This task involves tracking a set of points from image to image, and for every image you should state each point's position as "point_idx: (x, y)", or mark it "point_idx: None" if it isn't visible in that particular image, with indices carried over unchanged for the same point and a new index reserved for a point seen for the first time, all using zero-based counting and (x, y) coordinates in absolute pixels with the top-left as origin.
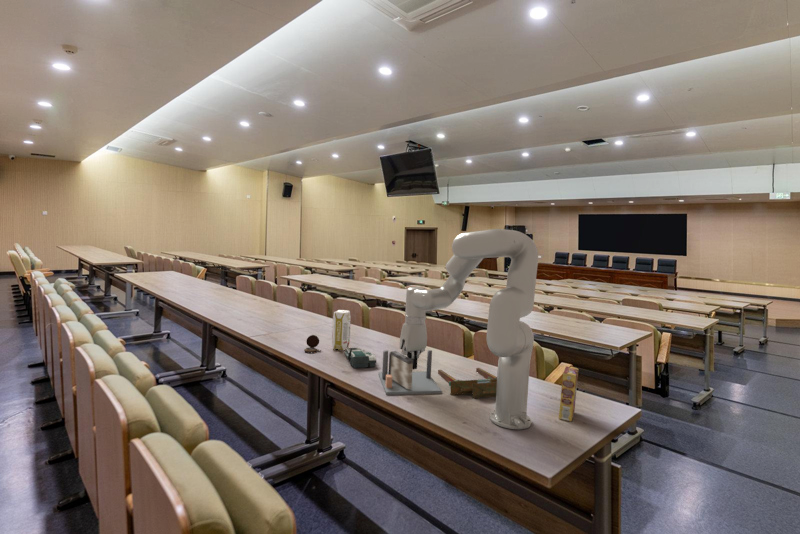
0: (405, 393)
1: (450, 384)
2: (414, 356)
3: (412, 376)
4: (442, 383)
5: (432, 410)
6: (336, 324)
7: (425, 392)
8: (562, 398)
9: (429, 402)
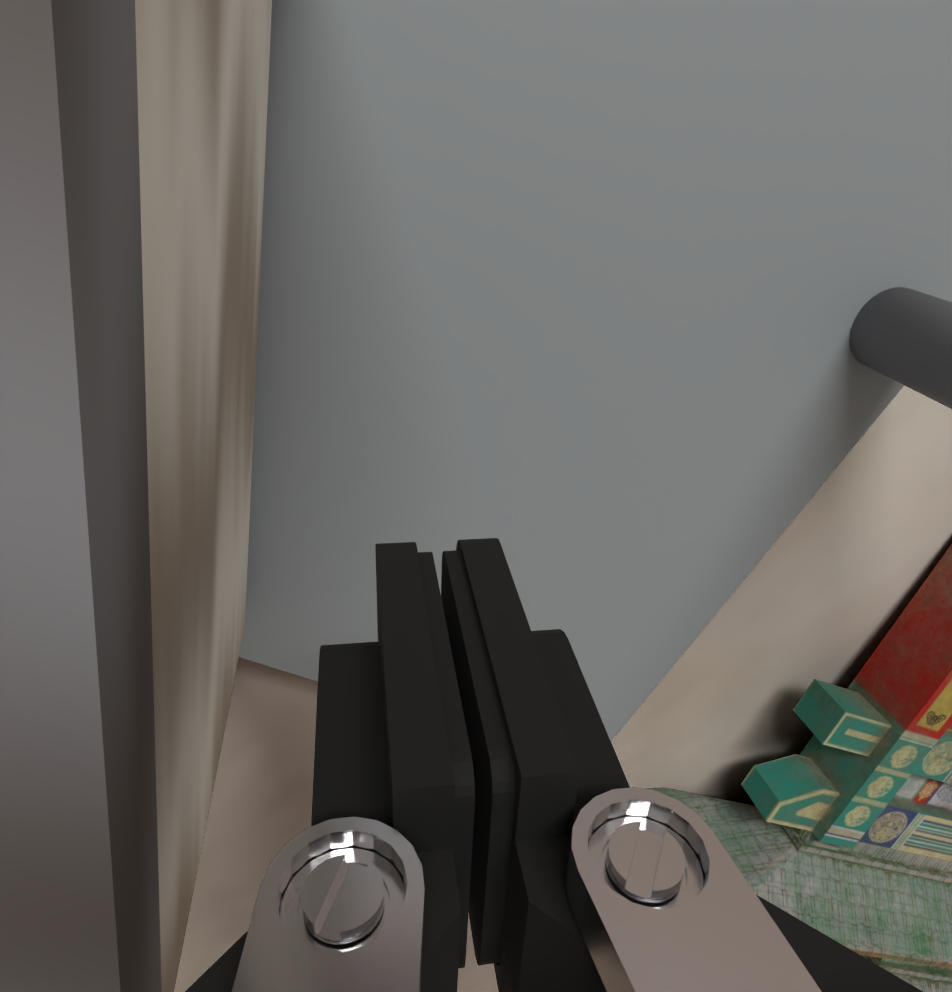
0: None
1: (808, 724)
2: (525, 987)
3: (742, 80)
4: (880, 518)
5: (178, 973)
6: None
7: None
8: None
9: (275, 855)
